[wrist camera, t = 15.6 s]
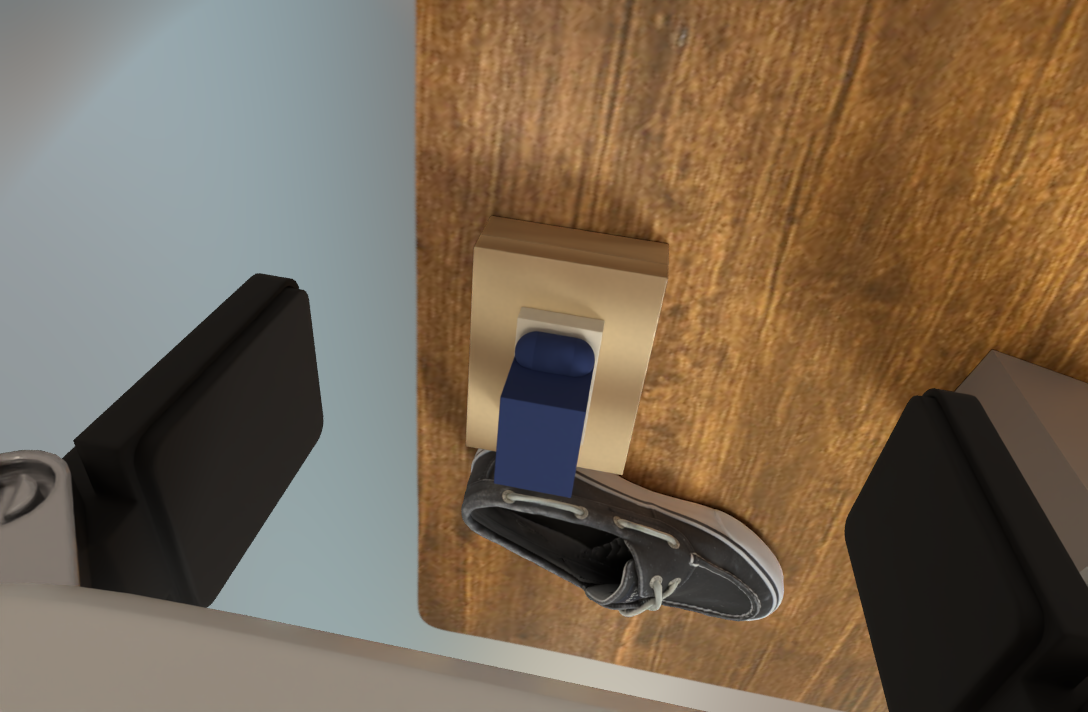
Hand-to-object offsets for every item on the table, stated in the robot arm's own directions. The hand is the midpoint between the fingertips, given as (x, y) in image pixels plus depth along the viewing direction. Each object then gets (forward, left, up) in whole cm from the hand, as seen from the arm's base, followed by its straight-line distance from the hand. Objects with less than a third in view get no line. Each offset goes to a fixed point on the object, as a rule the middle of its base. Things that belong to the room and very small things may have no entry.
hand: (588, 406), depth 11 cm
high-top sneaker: (+11, -12, -22) cm, 28 cm away
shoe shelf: (+11, -12, -26) cm, 31 cm away
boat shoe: (+26, -16, -26) cm, 40 cm away
